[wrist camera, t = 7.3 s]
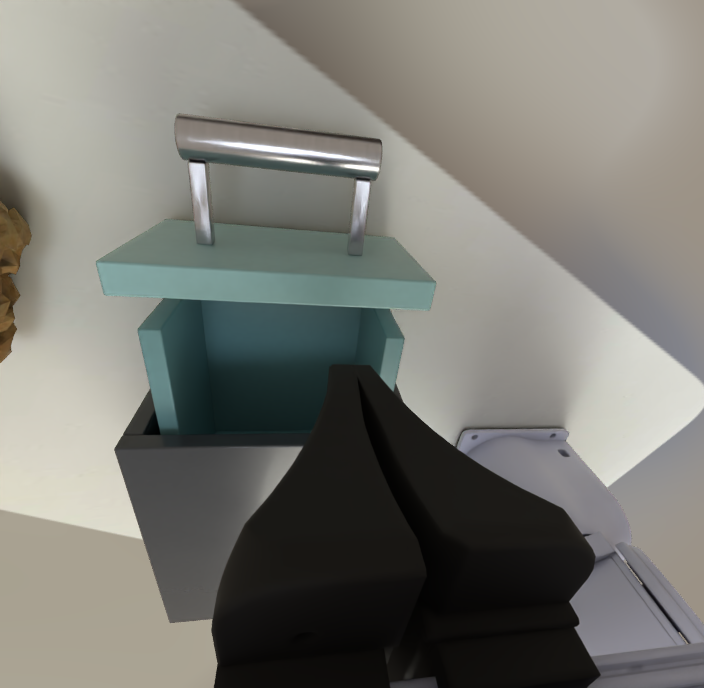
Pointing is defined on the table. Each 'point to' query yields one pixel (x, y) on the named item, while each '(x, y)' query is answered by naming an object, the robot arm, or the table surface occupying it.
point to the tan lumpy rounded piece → (10, 271)
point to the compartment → (197, 501)
